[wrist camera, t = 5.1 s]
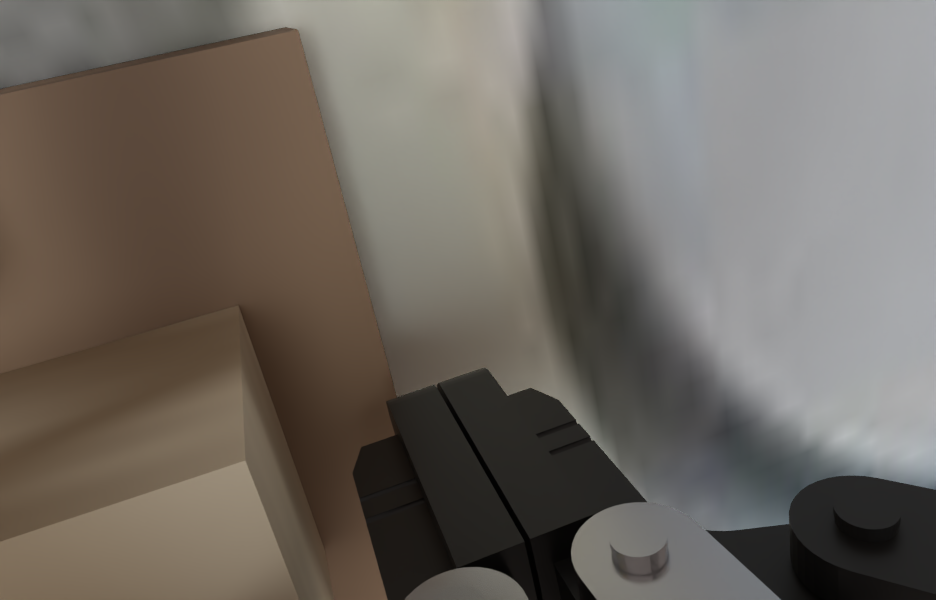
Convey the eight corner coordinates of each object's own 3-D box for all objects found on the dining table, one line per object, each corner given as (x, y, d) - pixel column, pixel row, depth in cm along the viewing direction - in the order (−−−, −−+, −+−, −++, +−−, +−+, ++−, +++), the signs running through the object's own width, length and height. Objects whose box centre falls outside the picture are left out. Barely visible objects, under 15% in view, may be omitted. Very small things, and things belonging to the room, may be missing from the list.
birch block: (237, 305, 10) (245, 460, 7) (324, 550, 12) (367, 774, 9) (-118, 408, 9) (-326, 649, 6) (35, 655, 11) (-54, 954, 8)
